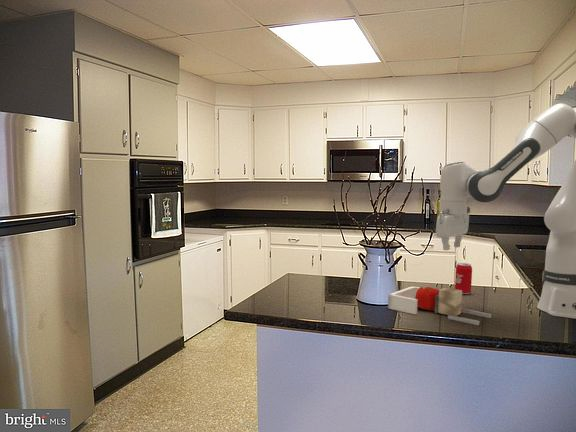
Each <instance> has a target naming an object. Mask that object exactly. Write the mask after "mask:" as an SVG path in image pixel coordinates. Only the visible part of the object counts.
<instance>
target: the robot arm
mask: <svg viewBox="0 0 576 432" xmlns="http://www.w3.org/2000/svg"><path fill="white" fill-rule="evenodd" d="M566 137H570V138H571V137H572V138H573V139H576V105H575V106H570V105H569V104H566V103H564V102H563V103H556V104H554V105H552V106H550V107H548V108H547V109H545V110H544V111H542V112H540V113H539V114H538V115H536V116H535V117H534V118H532V120H530V121H529V122H528V123H527V124H525V126H524V127H523V128H522V129H521V130H520V131H519V132H518V134H517V135H516V138H515V144H514V146H513V147H512V149H511V150H510V151H509V152H508V153H507V154H506V155H504V157H502V158H501V159H500V160H499V161H497V163H496V164H494V165H493V166H491V167H490V168H488V169H485V170H482V171H481V170H479V169H477V168H474V167H472V166H470V165H469V164H467V163H466V162H463V161H458V162H457V161H456V162H452V163H448V164H446V165H444V166H443V167H442V169H441V172H440V180H439V181H440V182H439V189H440V197H439V215H437V218H436V224H435V225H436V226H435V236H436V238H439V239H441V243H442V246H443V247H442V249H443V251H450V249H451V245H450V242H449V241H450V238H452V237H454V238H455V239H454V242H453V247H454V248H460V247H461V242H462V239H463V235H466V234H467V233H468V231H469V223H470V214H471V207H470V206H469V205H468V204H467V201H468V200H467V199H468V198H472V199H474V200H475V201H477V202H480V203H490V202H493V201H494V200H496V199H498V197H499V196H500V195H501V193H502V191H503V189H504V188H505V185H506V184H507V182H509V180H510V179H511V178H513V176H514V175H516V174H518V172H519V171H520V170H522V169H523V168H524V167H525V166H526V165H527V164H528V163H530V162H531V161H534V160H535V159H537V158H540V157H541V156H542V155H544V154H546V153H547V152H548V151H550V150H551V149H552V148H553V147H555V146H556V145H557V144H559V143H560V142H561V141H562V140H563V139H564V138H566ZM543 221H544V225H545V226H546V228H548V230H550V232H549V235H548V236H549V237H548V241H547V245H546V248H545V249H546V250H545V259H544V261H545V263H544V269H543V272H542V277H541V278H542V279H541V281H542V290H541V295H540V298H539V300H538V301H539V302H538V303H537V306H536V307H537V309H539V310H540V311H543V312H546V313H547V314H548V315H551V316H554V317H562V318H569V319H573V320H574V319H575V320H576V160H574V162H573V165H572V166H571V168H570V170H569V172H568V173H567V176H566V177H565V180H564V182H563V184H562V185H561V187H560V188H559V190H558V191H557V193H556V194H555V196H554V197H553V199H552V200H551V203H550V205H549V206H548V208H547V210H546V211H545V214H544V216H543Z"/></svg>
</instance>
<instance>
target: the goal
mask: <svg viewBox="0 0 576 432" xmlns="http://www.w3.org/2000/svg"><path fill="white" fill-rule="evenodd" d="M420 287H421V286H420ZM420 287H419V286H409V287H406V288H403V289H400V290H398V291H394V292H392V293H390V294H388V296H387V297H388V299H387V300H388V301H387V309H389V310H393V311H398V312H403V313H408V314H411V315H417V314H418V306H417V301H418V299H415V297H416V293H417V290H418V289H419V288H420Z"/></svg>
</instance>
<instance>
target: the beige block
mask: <svg viewBox="0 0 576 432" xmlns="http://www.w3.org/2000/svg"><path fill="white" fill-rule="evenodd" d="M438 290H439V294H438V295H436V296H435V310H434V314H438V313H439V314H442V315H447V316H448V315H453V316H458V315H460V314H462V312H461V308H462V300H463V299H462V298H463V294H462V290H457V289H455V288H450V287H444V288H440V289H438Z"/></svg>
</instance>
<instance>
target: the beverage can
mask: <svg viewBox="0 0 576 432" xmlns="http://www.w3.org/2000/svg"><path fill="white" fill-rule="evenodd" d="M454 279H455V280H454V289H457V290H462V295H463V294H467V295H469V294H471V293H472V281H473V280H472V279H473V267H472V264H471V263H468V262H458V263H457V264H456V266H455V278H454Z"/></svg>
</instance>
